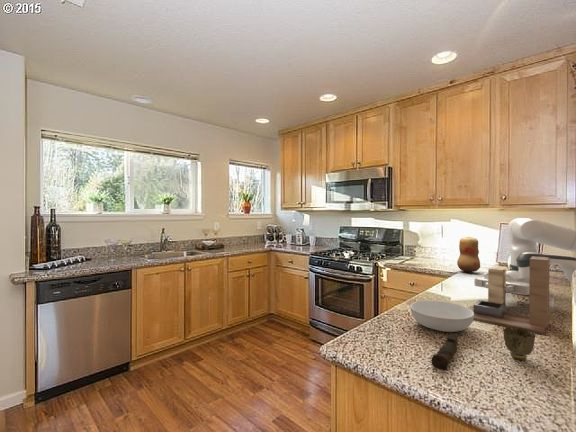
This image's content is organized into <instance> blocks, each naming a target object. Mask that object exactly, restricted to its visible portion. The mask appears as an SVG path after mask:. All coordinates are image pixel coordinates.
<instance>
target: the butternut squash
mask: <svg viewBox="0 0 576 432" xmlns="http://www.w3.org/2000/svg"><path fill="white" fill-rule="evenodd" d="M458 244H459V245H458V246H459V249H458V250H459V257H458V259H457V261H456V263H457V267H458V268H459V270H461V271H463V272H465V273H468V274H469V273H473V272H474V273H475V272H477V271H478V270H479V269H480V268H481V260H480V258H479V253H480V252H479V241H478V239H477V238H476V237H474V236H464V237H461V238H460V239H459V243H458Z"/></svg>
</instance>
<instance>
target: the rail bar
mask: <svg viewBox="0 0 576 432" xmlns="http://www.w3.org/2000/svg"><path fill="white" fill-rule="evenodd" d="M506 271H507V269H506V268H502V267H494V266H493V267H489V268H488V272H487V273H488V288H487V289H488V290H487V293H488V294H487V295H488V299H487V301H488V302H494V303H500V304H506V301H507V300H506V299H507V298H506V296H507V295H506V294H507V293H506V291H503V287H504V286H506ZM506 305H507V304H506Z"/></svg>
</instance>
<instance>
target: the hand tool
mask: <svg viewBox="0 0 576 432" xmlns="http://www.w3.org/2000/svg"><path fill="white" fill-rule="evenodd" d="M444 342H445V343H444V344H442V346H441V347H440V349H439V350H438V351H437V353H436V354H433V355H432V356H431V365H432V366H433V367H432V368H435V369H437V370H441V371H446V370H448V366H449V363H450V361H451V360H452V358H453V357H454V354H456V353H457V350H458V336H457V334H456V333H450V334H449V335H447V337H446V340H445V341H444Z"/></svg>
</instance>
